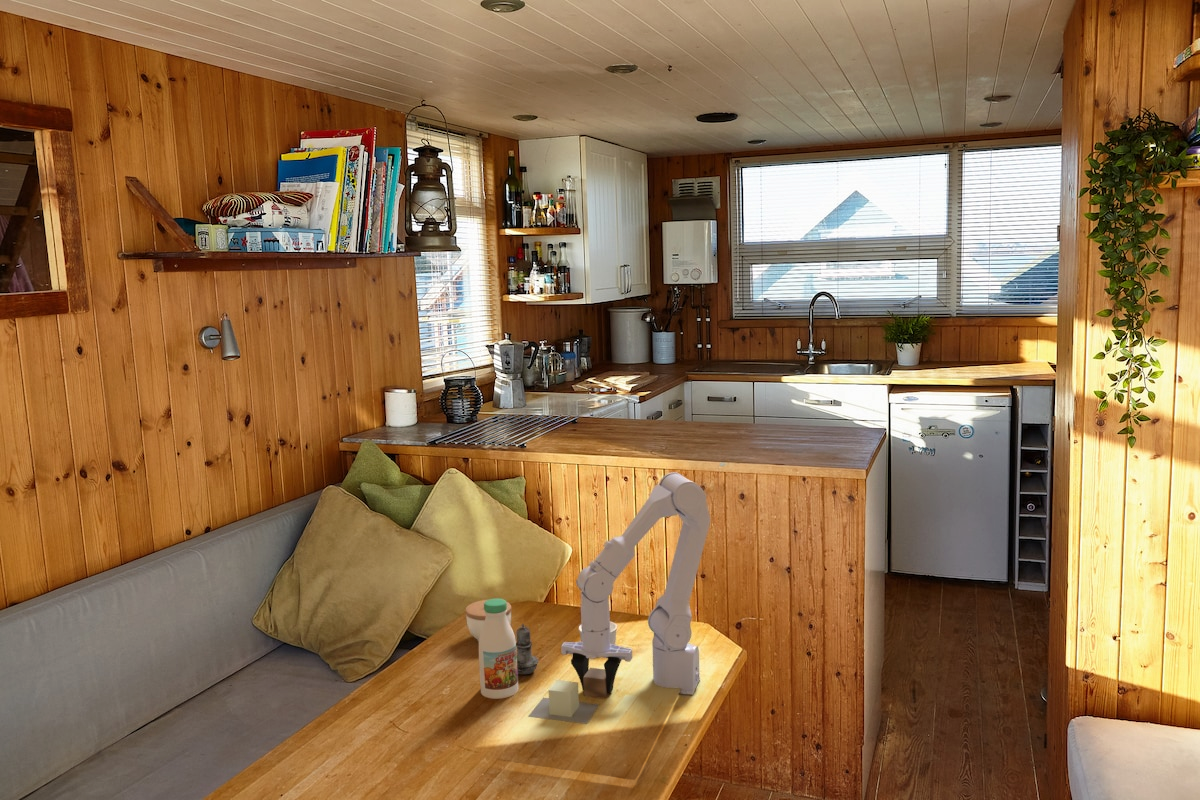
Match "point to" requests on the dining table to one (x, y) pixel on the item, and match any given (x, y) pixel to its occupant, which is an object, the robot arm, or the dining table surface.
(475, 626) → the lidded jar
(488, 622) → the milk bottle
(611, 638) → the ramekin
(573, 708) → the sage block
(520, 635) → the grey chess piece
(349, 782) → the dining table surface
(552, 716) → the plate
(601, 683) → the walnut block
